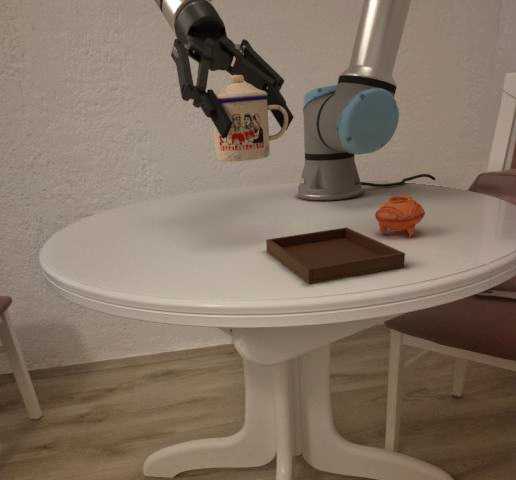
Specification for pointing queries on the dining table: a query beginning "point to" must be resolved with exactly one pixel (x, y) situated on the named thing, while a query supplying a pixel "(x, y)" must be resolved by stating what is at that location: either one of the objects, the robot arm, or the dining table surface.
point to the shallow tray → (333, 254)
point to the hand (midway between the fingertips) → (259, 127)
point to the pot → (399, 214)
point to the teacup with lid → (245, 122)
